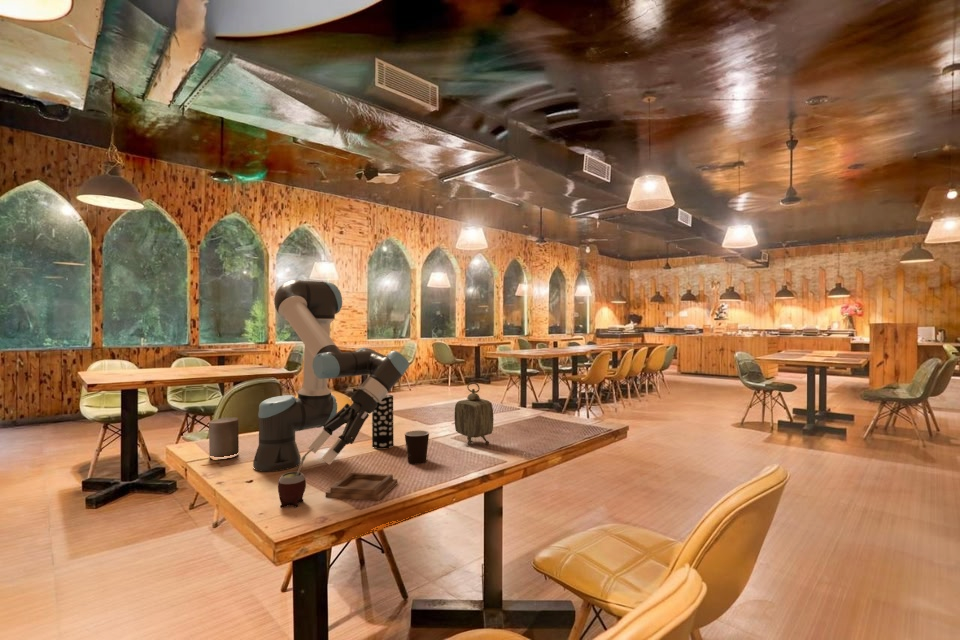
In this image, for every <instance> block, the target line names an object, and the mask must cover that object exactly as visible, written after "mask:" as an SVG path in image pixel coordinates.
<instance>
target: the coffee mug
mask: <svg viewBox="0 0 960 640" xmlns="http://www.w3.org/2000/svg"><path fill="white" fill-rule="evenodd" d="M429 437H430V432H429V431H427V430H421V429H420V430H419V429H418V430H410V431H406V432H405V433H404V438H405V439H404V441H405V448H406V456H407V463H408V464H411V465H421V464H425V463H427V458H428V457H427V456H428V447H429Z"/></svg>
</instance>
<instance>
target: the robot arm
mask: <svg viewBox="0 0 960 640" xmlns="http://www.w3.org/2000/svg"><path fill="white" fill-rule="evenodd" d="M273 301H274V302H273V304H274V308H275V310H276V312H277V314H278V315H279V316H280V318H282V319H283V320H285V321H287V322H288V324H289V326H291V328H292V330H293V331H294V332H295V333H296V335H297V336H298V337H299V339H300V340H301V342H302V343H303V344H304V352H303V374H302V375H303V377H302V387H301V388H300V390H298V391H297V398H296V397H295V395H292V394H285V395H279V396H273V397H269V398H267V399H265V400H263V401H261V402H260V403H259V406H258V414H257V417H258V446H257V449H256V451H255V455H254V459H253V463H252V466H253V467H254V468H255V469H257V470H256V471H258V470H262V471H261V472H277V471H276V470H278V471H282V470H283V469H284V470H288V469H287V468H289V469H291V467H292V468H294V466H295V467H297V466H298V464H299V465H300V462H301V459H302V457H301V453H300V451H299V448H298V445H297V442H296V432H300V431H306V430H310V429H311V430H312V429H316V428H317V429H318V428H319V429H320V428H322V427H323V429H321V432H320V433H318V435H316V437H315V438H314V439H313V441H312V442H311V443H310V444H309V445H308V446H307V449H309V451H310V450H311V449H313V448H314V449H313V450H312V451H311V452H312V453H313V454H316V453H317V452H318V451H319V450H320V448H321V447H322V446H324V444H325V443H326V441H328V440H329V438H330V437H331V436H332V435H333V433H334V432H335V431H336V430H338V429H340V428H341V427H342V426H344V425H345V427H344V429H343V432H342V434H340V435H339V436H337V437H338V438H337V439H336V440H335V442H334V443H333V444H332V445H331V446H330V448H329V449H327V451H326V452H325V453H324V454H323V456H321V460H323V461H324V462H325V463H326V464H328V465H331V464H332V463H333V462H334V460H335V459H336V458H337V456H338V455H339V454H340V453H341V452H342V451H343V449H344V448H345V447H346V445H349V444H351V445H352V444H353V443H354V442H355V440H356V438H357V437H358V435H359V433H360V431H361V429H362V428H363V426H364V423H365V422H366V420H368V418H369V417H370V415H369V414H372V411H373V410H374V409H375V408H376V407H377V402H381V400H382V399H383V398H385V397H386V396H385V395H388V393H389V392H390V391H391V389H392V388H394V386H395V385H396V384H397V382H398V381H399V380H400V379H401V378H402V377H403V376H404V375H405V373H406V371H407V370H408V369H409V367H410V362H409V360H408V359H407V357H405V356H404V355H403V354H402V353H401V352H398V351H397V350H391V351H390V352H389V353H387V354H385V355H384V354H383V353H381V352H378V351H375V350H374V349H371V348H367V347H360V348H359V349H357V350H355V351H341V349H340V348H339V346H337V345H336V343H335V342H334V340H333V339H332V338H331V335H330V334H331V323H332V322H333V321H334V320H335V319H336V318H335V317H336V315H337V314H339V313H340V312H341V309H342V308H343V297H342V293H341V291H340V289H339V287H338V286H337V285H336V284H334V283H332V282H329V281H328V282H326V281H314V280H313V281H312V280H311V281H310V280H301V279H299V280H298V279H293V280H289V281H286V282H285V283H282V284H281V285H280V286H279V287H278V289H277V290H276V292H275V295H274V299H273ZM358 376H367V378H366V379H365V380H363V382H362V384H361V385H360V388H358V389H357V390H355V392H354V393H353V394H352V396H351V397H350V400H351V401H352V404H351V405H350V404H349V403H346V404H345V405H344V406H343V407H342V408H341V409H340V410H338V402H337V399H336V397H335V395H333V394H332V390H331V389H330V388H329V387H328V381H329V380H331V379H339V378H346V377H358ZM296 465H297V466H296ZM253 467H252V468H253ZM254 468H253V469H254ZM255 469H254V470H255ZM284 470H283V471H284Z"/></svg>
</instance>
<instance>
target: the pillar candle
mask: <svg viewBox="0 0 960 640" xmlns="http://www.w3.org/2000/svg"><path fill="white" fill-rule="evenodd" d="M208 432H209V433H208V438H209V439H208V440H209V441H208V442H209V444H208V448H209V449H208V451H209V457H210V456H214V457H224V456H230V455H234V454H237V453H238V452H239V447H240V446H239V442H240V441H239V418H238V417H225V416H223V417H222V418H216V419H213V420H209V421H208ZM239 453H240V452H239Z"/></svg>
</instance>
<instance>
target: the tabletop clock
mask: <svg viewBox="0 0 960 640" xmlns="http://www.w3.org/2000/svg"><path fill="white" fill-rule="evenodd" d="M471 384H472V385H476V386H477V388H478V389H477V390H476V389H475V388H472V389H470V387H469V386H470V385H471ZM466 389H467V390H468V392H470V393H469V394H468V395H467V398H466V399H462V400H458V401H457V402H456V403H455V406H454V429H455V432H456V433H458V434H460V435H462V436H466V437H467V444H468V446H471V445H473V444H472V438H474V439H475V438H481V439H483V440H484V441H485V442H484V443H485V445H486V446H488V445H490V441H489V440H487V439H486V436H488V435H491V434H492V433H493V431H494V418H495V417H494V408H493V404H492V402H491V401H489V400H487V399H485V398H480V395H479V394H478V393H479V392H480V389H481V388H480V385H479V384H478V383H477V382H475V381H471V382H469V383H468V384H467V388H466Z"/></svg>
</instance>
